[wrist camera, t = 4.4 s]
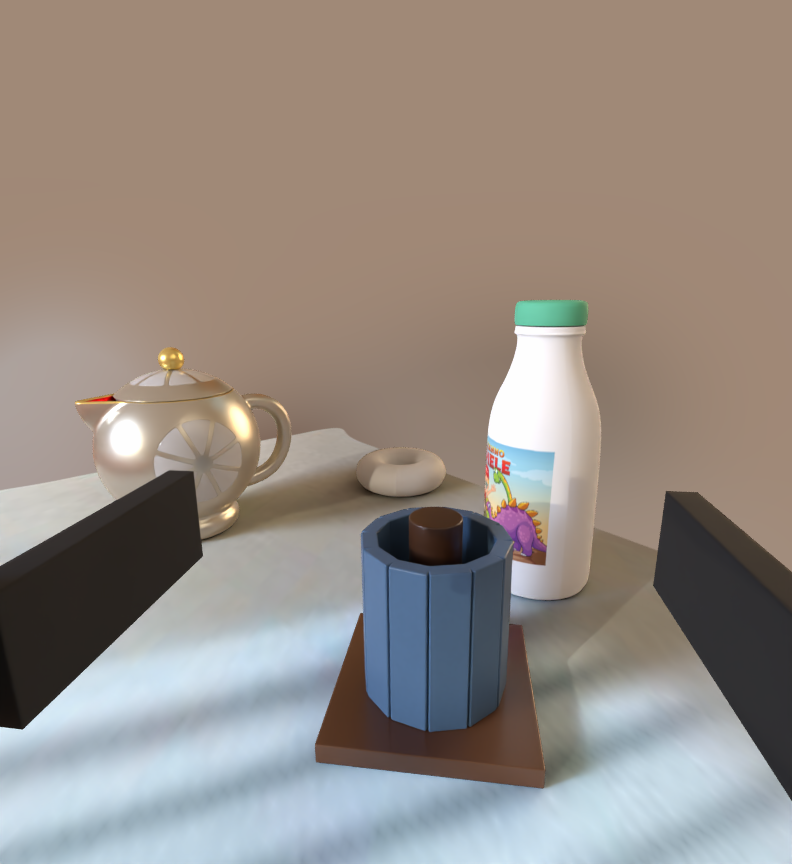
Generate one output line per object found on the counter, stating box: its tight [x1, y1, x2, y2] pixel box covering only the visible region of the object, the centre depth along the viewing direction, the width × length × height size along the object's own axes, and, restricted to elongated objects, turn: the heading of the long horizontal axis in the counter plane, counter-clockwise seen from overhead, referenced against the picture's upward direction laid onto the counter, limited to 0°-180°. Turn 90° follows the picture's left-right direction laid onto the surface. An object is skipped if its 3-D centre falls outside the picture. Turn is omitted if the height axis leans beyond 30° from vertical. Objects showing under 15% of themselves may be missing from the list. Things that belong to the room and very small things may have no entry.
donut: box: [356, 447, 446, 497], centre depth 57 cm, size 10×4×10 cm
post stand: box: [315, 507, 546, 788], centre depth 26 cm, size 10×10×10 cm
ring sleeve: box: [361, 507, 513, 732], centre depth 26 cm, size 7×7×8 cm
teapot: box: [75, 347, 291, 540], centre depth 46 cm, size 18×14×16 cm
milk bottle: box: [484, 300, 601, 600], centre depth 36 cm, size 8×8×20 cm
